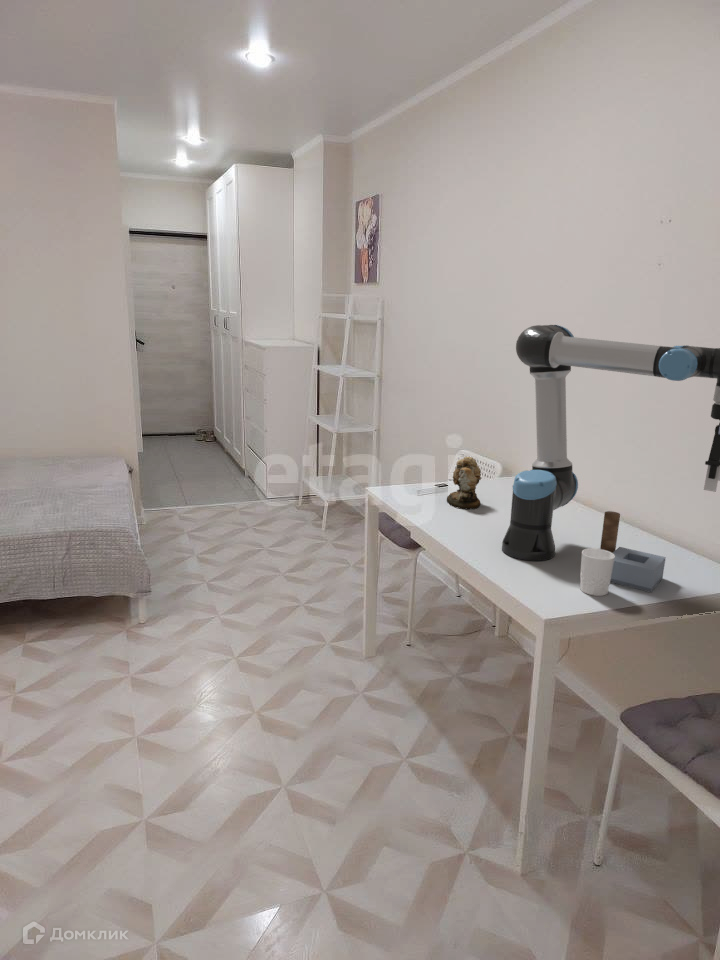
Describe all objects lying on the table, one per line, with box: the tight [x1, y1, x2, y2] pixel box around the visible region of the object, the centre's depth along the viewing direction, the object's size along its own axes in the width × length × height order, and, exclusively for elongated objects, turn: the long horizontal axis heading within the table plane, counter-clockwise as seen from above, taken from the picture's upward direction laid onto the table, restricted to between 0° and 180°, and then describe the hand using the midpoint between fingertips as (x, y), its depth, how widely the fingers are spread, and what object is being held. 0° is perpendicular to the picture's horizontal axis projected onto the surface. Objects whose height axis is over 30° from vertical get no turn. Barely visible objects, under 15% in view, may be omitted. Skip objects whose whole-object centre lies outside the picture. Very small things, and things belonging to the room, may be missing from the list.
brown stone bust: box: [446, 456, 482, 510], centre depth 242 cm, size 18×12×17 cm, turn 6°
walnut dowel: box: [599, 510, 621, 553], centre depth 186 cm, size 4×4×15 cm
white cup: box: [579, 547, 615, 597], centre depth 169 cm, size 8×8×10 cm
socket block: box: [610, 546, 666, 593], centre depth 178 cm, size 12×12×6 cm
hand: (714, 485), depth 174 cm, fingers open, 13 cm apart
